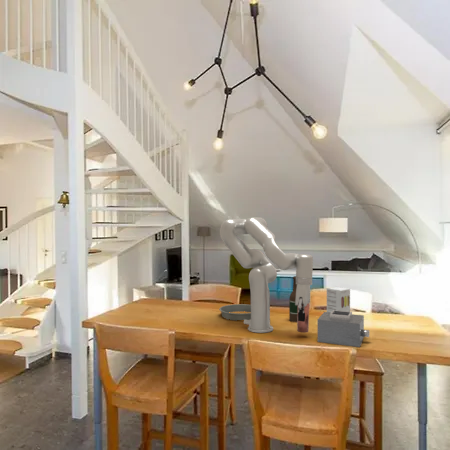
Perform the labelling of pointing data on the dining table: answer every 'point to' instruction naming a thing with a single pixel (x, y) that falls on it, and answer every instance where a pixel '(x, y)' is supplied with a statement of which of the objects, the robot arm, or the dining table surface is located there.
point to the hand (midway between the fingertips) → (303, 319)
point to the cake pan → (236, 308)
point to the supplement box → (338, 299)
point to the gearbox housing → (341, 328)
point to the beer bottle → (293, 303)
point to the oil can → (304, 325)
